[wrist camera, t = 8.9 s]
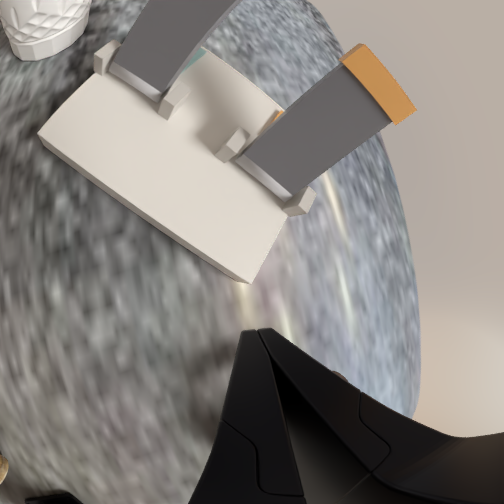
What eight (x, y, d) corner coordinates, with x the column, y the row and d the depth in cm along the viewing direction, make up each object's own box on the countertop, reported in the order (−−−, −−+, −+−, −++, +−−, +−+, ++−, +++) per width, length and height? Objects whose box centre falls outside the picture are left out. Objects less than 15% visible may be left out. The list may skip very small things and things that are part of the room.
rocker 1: (155, 107, 13) (274, -32, 7) (103, 73, 12) (202, -69, 5) (166, 100, 14) (278, -27, 7) (116, 67, 12) (211, -63, 6)
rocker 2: (284, 207, 17) (417, 110, 11) (230, 163, 15) (364, 44, 9) (285, 195, 18) (408, 103, 12) (235, 153, 16) (359, 43, 10)
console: (239, 283, 18) (269, 288, 15) (42, 144, 12) (27, 117, 9) (309, 156, 22) (341, 142, 18) (156, 37, 15) (168, 5, 12)
